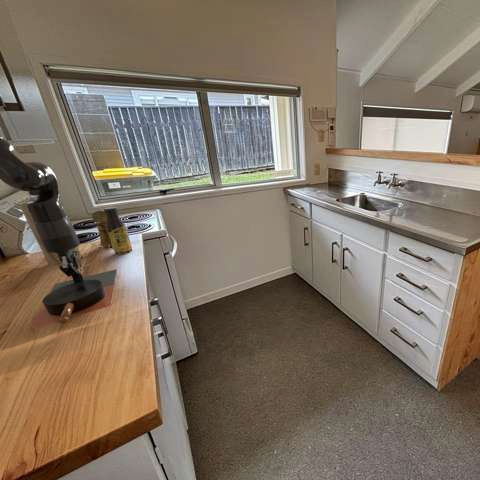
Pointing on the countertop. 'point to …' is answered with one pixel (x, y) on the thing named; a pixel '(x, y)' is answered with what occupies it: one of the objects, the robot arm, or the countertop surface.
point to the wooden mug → (102, 228)
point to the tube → (49, 257)
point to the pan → (73, 298)
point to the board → (108, 285)
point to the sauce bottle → (117, 232)
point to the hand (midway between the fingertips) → (81, 283)
